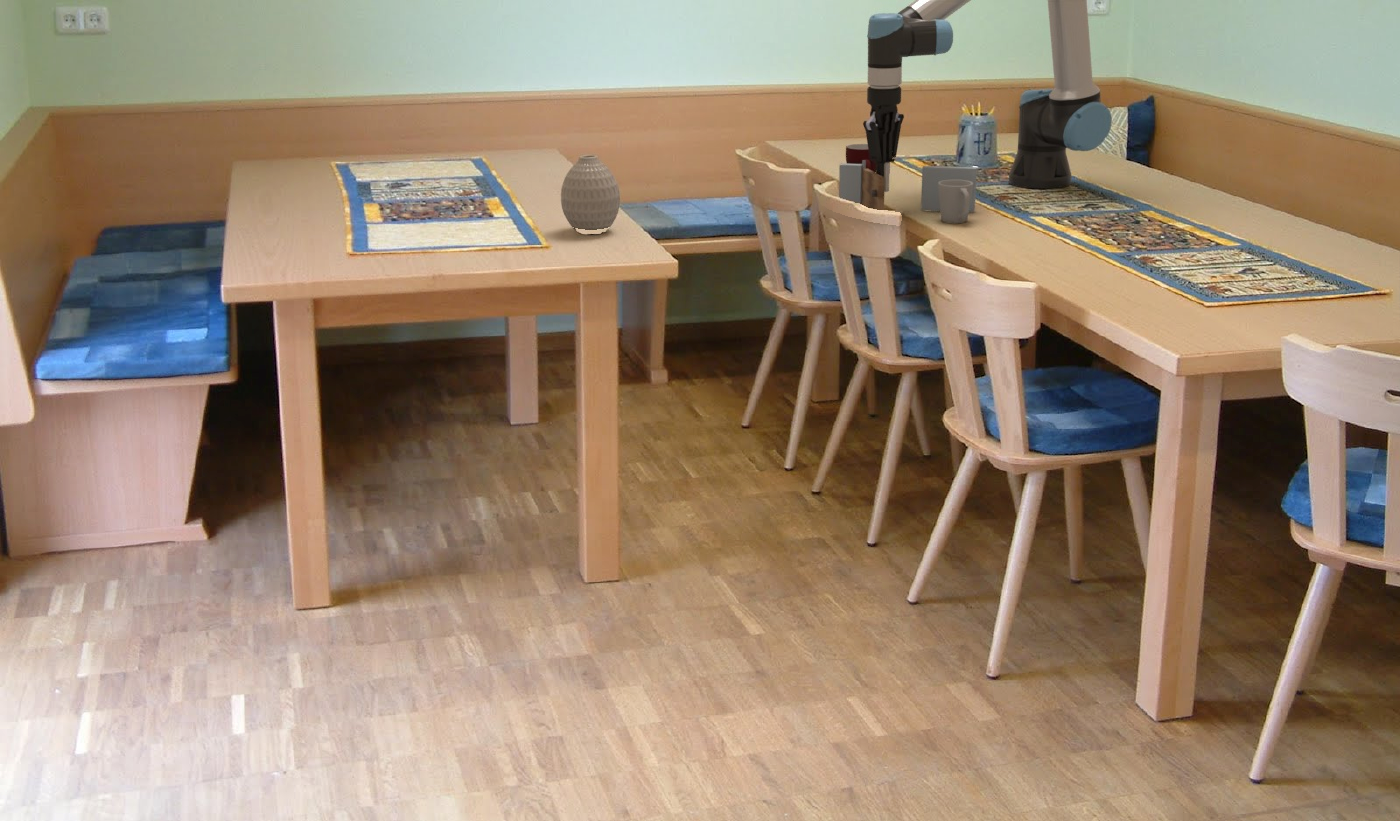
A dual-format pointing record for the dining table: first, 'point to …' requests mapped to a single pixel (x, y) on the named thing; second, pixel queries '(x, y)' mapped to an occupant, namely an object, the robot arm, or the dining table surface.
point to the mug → (859, 155)
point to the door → (872, 189)
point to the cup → (954, 200)
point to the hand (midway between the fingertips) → (882, 190)
